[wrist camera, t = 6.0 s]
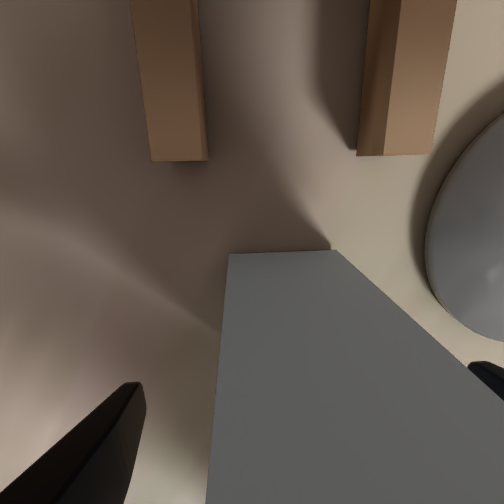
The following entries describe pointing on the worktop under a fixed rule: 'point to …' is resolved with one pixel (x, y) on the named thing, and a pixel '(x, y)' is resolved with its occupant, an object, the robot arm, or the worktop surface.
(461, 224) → the charcoal trivet
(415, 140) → the walnut bay
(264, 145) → the worktop surface
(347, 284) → the slate block
